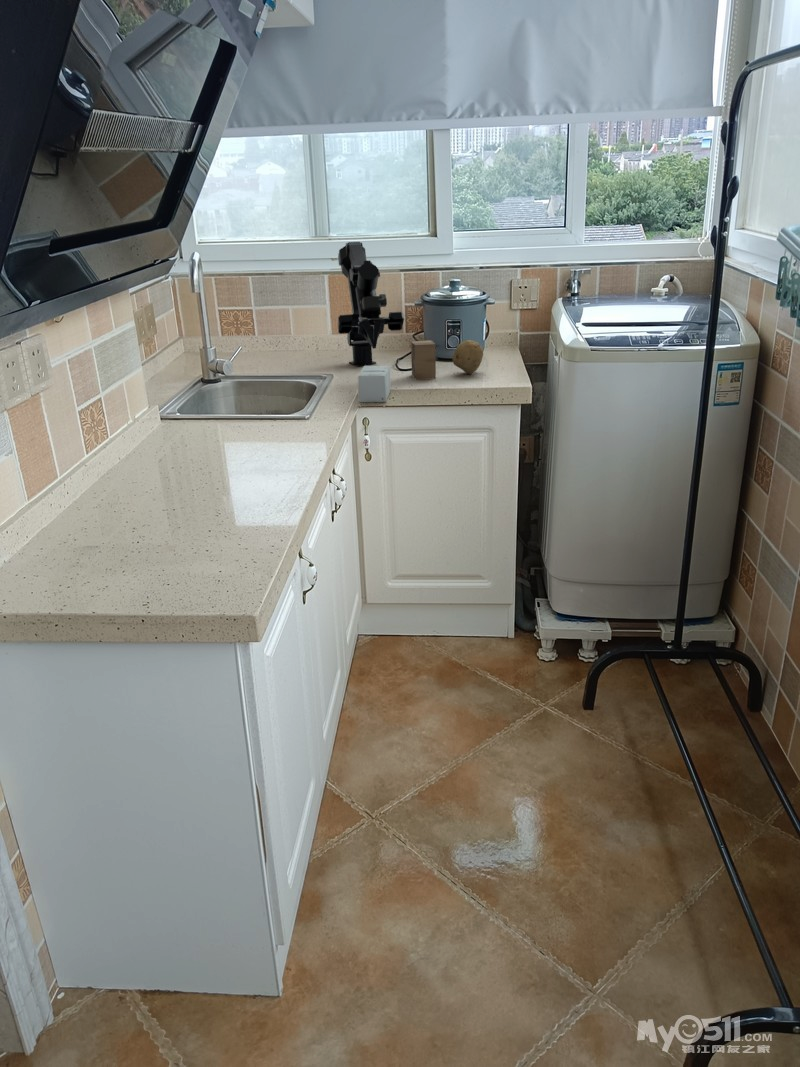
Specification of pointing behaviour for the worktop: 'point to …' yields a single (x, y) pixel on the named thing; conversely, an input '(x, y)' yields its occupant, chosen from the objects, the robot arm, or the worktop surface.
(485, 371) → the worktop surface
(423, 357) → the walnut block
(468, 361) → the natural sponge
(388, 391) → the supplement box
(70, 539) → the worktop surface
